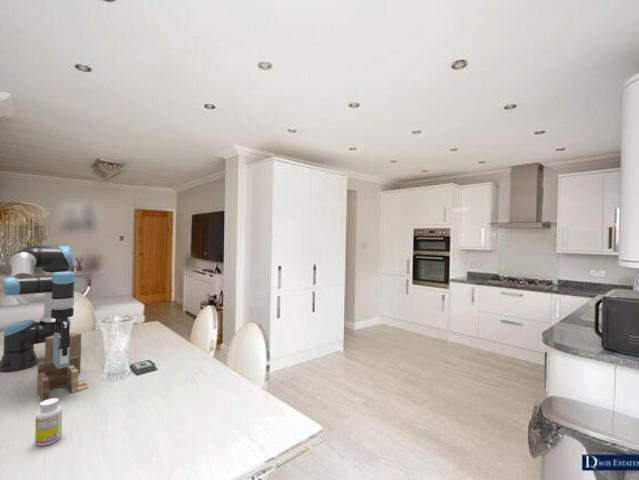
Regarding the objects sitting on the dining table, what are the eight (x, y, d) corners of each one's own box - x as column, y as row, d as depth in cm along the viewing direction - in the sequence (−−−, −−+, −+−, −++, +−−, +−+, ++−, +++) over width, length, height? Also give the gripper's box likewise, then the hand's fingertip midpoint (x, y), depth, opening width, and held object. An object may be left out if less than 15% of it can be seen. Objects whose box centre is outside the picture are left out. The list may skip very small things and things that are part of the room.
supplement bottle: (45, 434, 107) (46, 396, 107) (66, 434, 107) (67, 396, 107) (29, 447, 100) (30, 406, 100) (51, 446, 100) (52, 406, 101)
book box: (52, 362, 135) (53, 332, 136) (64, 360, 138) (65, 330, 139) (57, 368, 129) (58, 336, 129) (69, 366, 132) (70, 334, 132)
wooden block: (60, 381, 148) (61, 338, 148) (43, 379, 150) (44, 337, 150) (80, 373, 158) (81, 333, 158) (64, 371, 160) (65, 331, 160)
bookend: (66, 386, 143) (67, 366, 143) (83, 381, 148) (83, 362, 148) (72, 392, 137) (72, 372, 137) (88, 388, 141) (89, 368, 141)
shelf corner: (37, 392, 137) (37, 364, 137) (76, 381, 147) (77, 356, 148) (42, 403, 127) (43, 374, 127) (84, 391, 138) (85, 364, 138)
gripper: (46, 305, 139) (45, 356, 138) (56, 312, 124) (55, 369, 123) (67, 303, 144) (66, 352, 144) (79, 310, 130) (78, 364, 129)
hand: (61, 360), depth 134 cm, fingers closed on book box, 10 cm apart
